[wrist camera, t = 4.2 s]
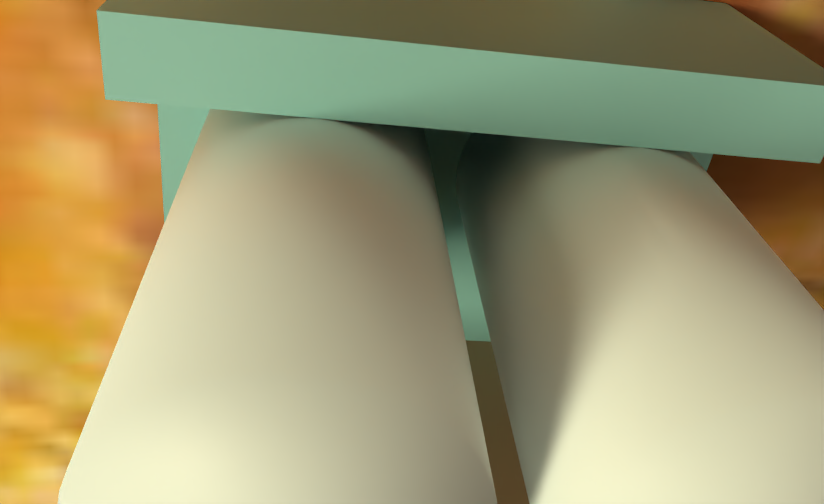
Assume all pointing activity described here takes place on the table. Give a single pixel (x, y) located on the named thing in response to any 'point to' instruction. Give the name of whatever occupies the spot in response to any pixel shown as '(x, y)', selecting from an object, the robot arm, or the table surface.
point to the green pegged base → (459, 258)
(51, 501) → the table surface
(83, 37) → the table surface
